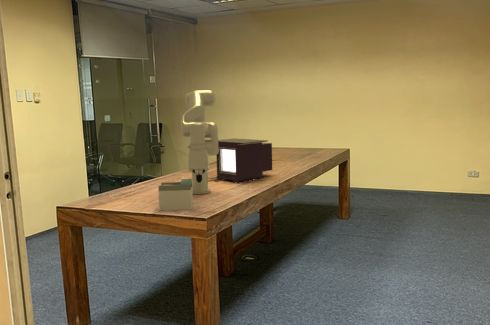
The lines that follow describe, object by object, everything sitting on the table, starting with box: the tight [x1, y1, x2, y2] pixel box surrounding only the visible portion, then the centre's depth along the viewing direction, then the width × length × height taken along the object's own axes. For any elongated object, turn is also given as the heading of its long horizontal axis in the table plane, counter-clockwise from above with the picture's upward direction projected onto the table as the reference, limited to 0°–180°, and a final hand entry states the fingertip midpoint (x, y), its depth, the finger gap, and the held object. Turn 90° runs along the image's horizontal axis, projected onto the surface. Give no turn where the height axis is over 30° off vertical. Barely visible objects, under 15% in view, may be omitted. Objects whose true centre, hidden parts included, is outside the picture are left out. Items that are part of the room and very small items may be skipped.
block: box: [157, 181, 194, 211], centre depth 238 cm, size 12×16×12 cm
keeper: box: [179, 178, 192, 185], centre depth 237 cm, size 9×5×2 cm, turn 2°
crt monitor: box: [215, 138, 273, 184], centre depth 322 cm, size 35×35×27 cm
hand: (199, 182), depth 237 cm, fingers closed
